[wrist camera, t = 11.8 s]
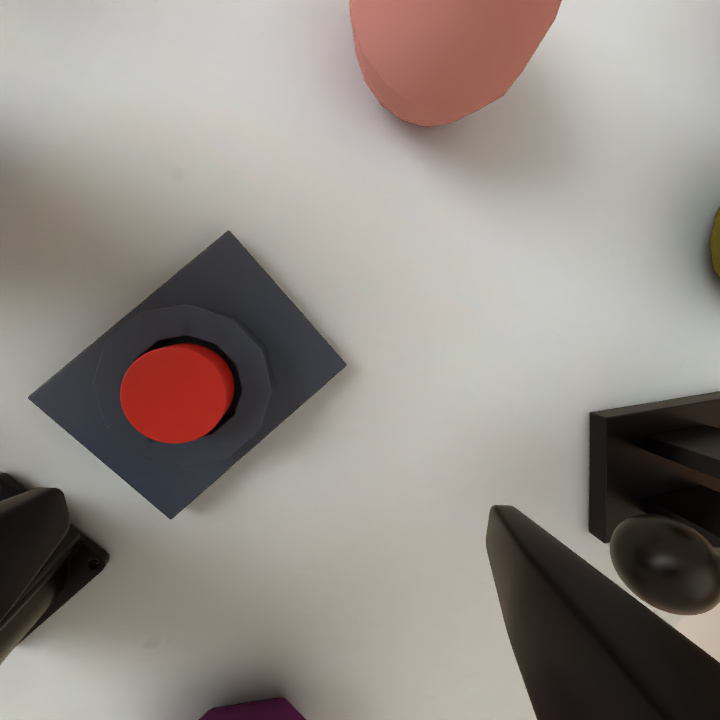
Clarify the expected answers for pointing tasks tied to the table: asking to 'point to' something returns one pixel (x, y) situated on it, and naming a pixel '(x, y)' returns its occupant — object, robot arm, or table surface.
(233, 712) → the perfume bottle
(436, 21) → the pink vase
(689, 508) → the bracket
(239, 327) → the control block
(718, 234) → the apple
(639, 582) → the lever
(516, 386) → the table surface
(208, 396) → the button
